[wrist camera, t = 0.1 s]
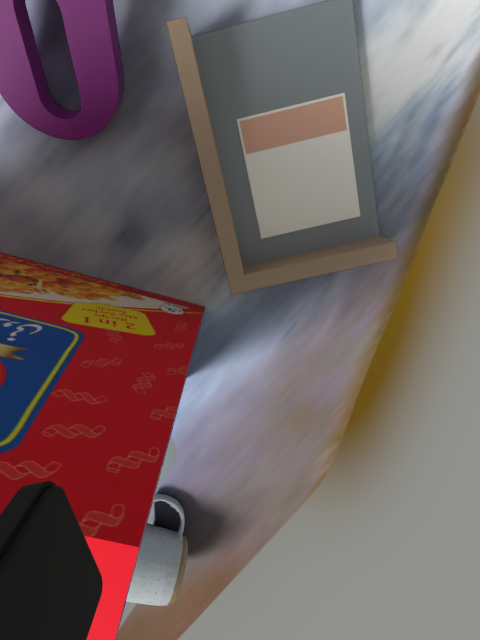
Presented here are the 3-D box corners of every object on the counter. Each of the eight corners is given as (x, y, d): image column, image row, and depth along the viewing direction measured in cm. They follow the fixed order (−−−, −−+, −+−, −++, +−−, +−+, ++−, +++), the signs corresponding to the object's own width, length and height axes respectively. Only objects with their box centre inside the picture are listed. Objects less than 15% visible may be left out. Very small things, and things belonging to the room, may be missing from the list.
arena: (176, 45, 33) (166, 21, 28) (348, 0, 32) (367, -33, 27) (232, 281, 39) (231, 294, 34) (377, 249, 38) (397, 258, 33)
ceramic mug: (177, 566, 50) (168, 630, 43) (112, 551, 49) (91, 613, 42) (201, 498, 47) (195, 554, 40) (132, 481, 46) (113, 535, 39)
